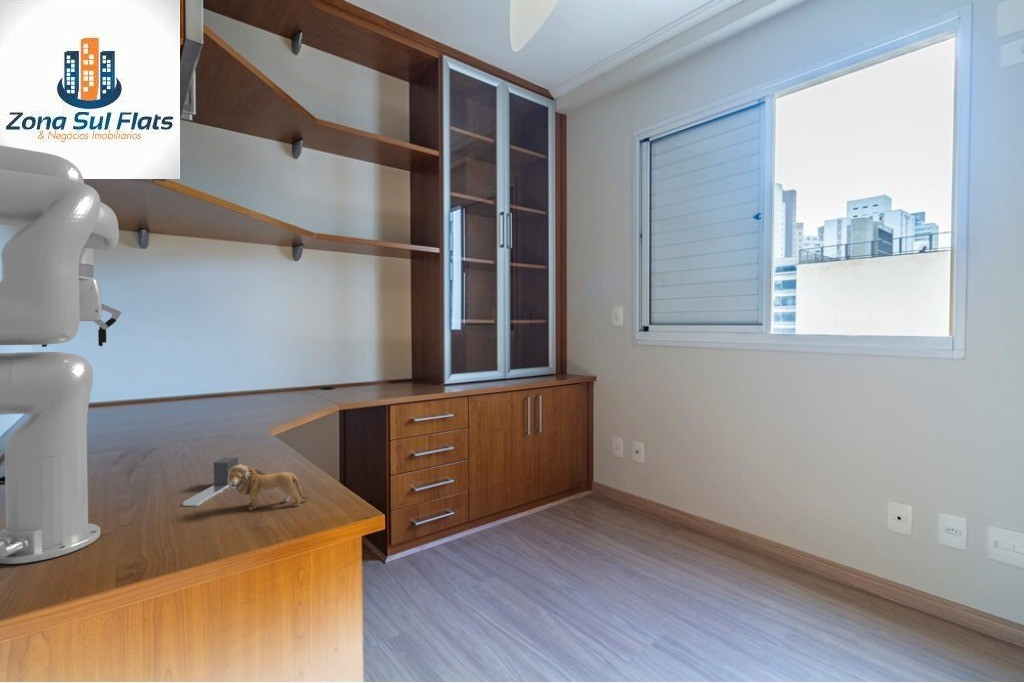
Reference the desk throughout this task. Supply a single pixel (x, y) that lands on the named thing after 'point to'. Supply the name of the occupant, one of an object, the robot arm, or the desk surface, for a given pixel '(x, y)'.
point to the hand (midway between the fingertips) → (73, 346)
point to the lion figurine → (262, 483)
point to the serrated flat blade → (219, 482)
